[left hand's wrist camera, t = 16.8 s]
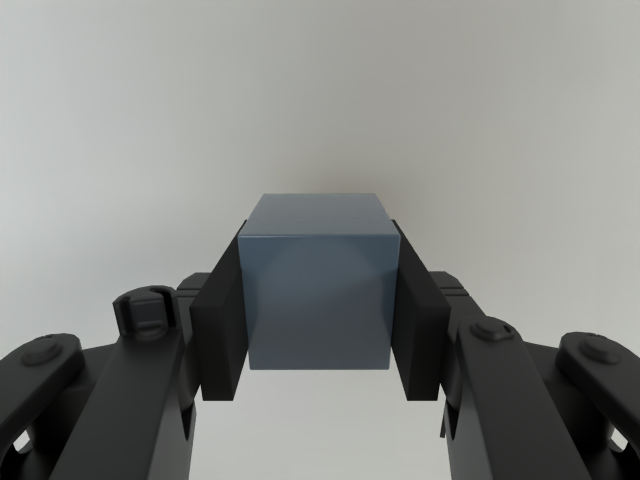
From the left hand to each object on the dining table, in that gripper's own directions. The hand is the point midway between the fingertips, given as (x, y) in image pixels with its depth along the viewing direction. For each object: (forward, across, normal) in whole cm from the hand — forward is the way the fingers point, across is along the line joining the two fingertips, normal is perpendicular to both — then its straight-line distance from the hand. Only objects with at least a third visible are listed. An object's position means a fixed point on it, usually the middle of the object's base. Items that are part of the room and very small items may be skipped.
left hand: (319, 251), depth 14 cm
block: (0, 0, 0) cm, 0 cm away
